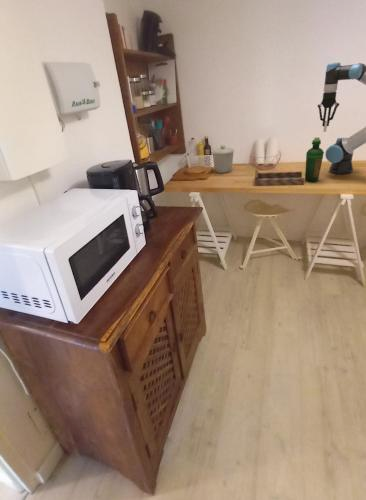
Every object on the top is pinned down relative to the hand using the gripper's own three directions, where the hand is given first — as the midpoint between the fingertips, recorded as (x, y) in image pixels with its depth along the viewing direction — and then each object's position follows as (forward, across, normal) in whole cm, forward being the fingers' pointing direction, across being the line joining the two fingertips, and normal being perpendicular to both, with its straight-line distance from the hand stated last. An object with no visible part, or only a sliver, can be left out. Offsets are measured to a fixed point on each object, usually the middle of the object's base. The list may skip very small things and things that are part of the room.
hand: (324, 131), depth 195 cm
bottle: (+30, +5, +13) cm, 33 cm away
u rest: (+29, +27, +15) cm, 43 cm away
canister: (+29, +72, -9) cm, 78 cm away
